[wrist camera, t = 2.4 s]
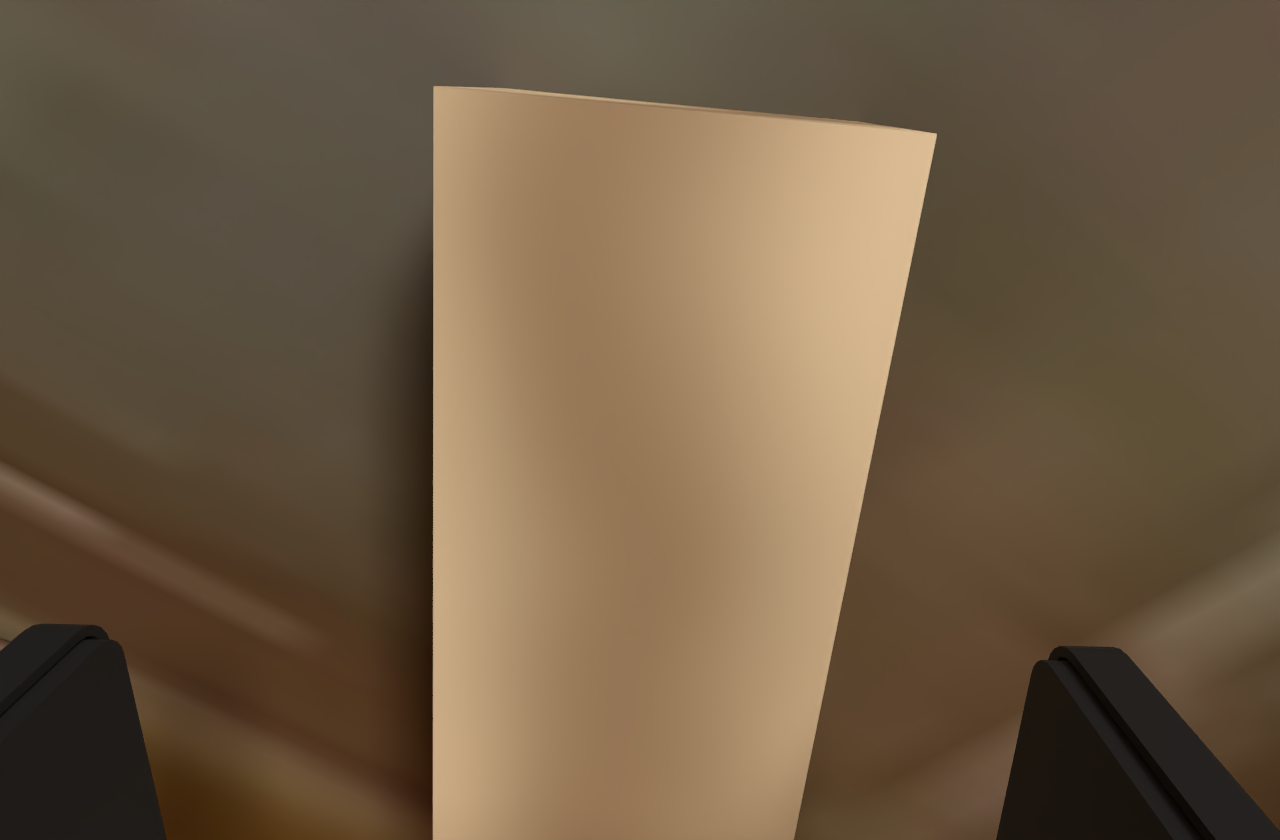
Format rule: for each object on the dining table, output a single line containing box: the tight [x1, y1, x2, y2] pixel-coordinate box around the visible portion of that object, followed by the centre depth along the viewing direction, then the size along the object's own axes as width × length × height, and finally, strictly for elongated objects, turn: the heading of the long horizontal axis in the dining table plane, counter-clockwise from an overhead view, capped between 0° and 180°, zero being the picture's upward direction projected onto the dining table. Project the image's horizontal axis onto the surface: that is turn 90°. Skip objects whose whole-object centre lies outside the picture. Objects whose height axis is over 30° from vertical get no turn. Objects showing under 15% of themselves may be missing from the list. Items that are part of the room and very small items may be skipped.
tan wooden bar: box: [433, 86, 937, 840], centre depth 12 cm, size 5×12×4 cm, turn 175°
